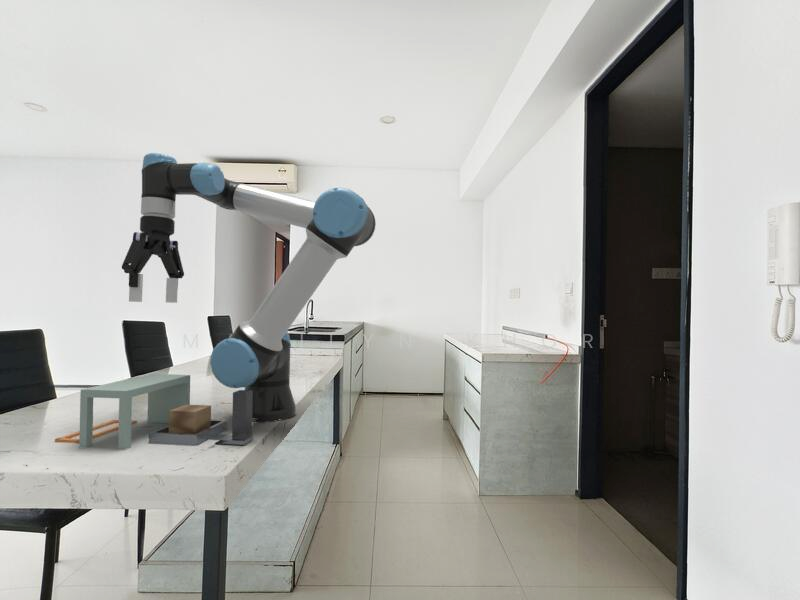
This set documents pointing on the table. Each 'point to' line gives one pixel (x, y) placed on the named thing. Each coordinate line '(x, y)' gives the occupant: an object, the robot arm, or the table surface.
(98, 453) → the table surface
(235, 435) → the slider
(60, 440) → the orange rails
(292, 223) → the robot arm
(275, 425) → the table surface
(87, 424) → the tunnel
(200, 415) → the walnut block
